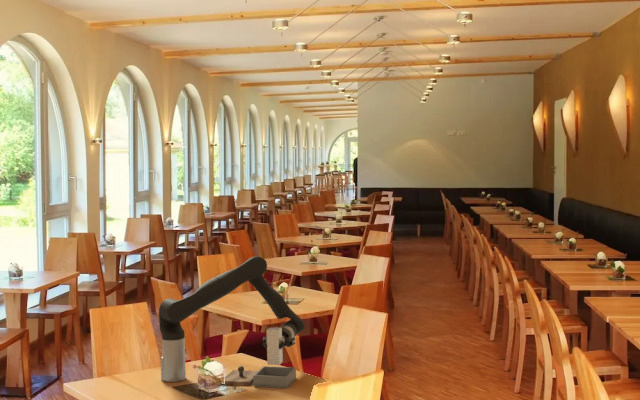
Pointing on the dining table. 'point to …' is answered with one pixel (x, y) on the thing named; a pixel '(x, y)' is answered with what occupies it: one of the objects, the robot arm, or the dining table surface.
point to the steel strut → (274, 346)
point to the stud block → (240, 377)
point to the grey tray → (274, 377)
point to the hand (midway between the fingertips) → (272, 346)
